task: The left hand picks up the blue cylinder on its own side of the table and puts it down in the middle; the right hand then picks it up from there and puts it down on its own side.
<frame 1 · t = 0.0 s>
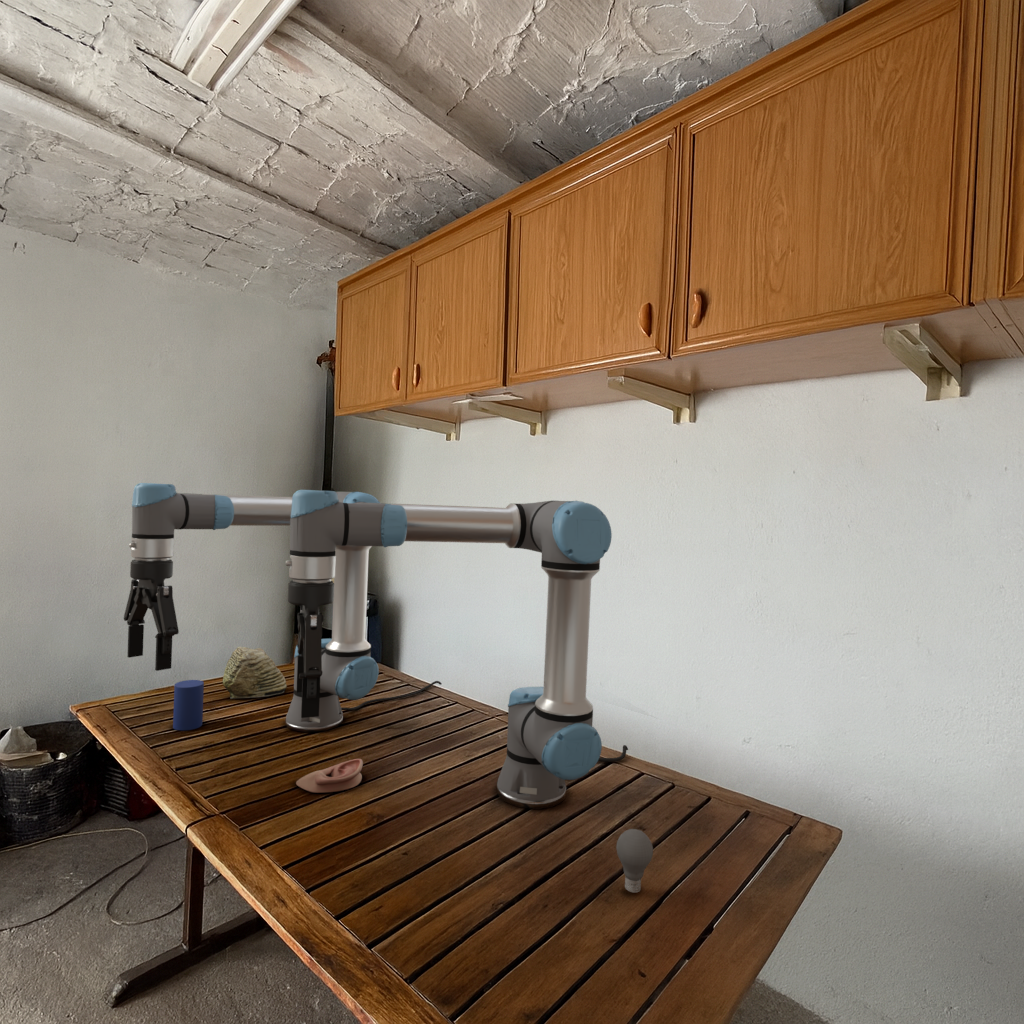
left hand: (148, 662, 129), 28 cm above the table, tool pointing down, fingers open, 13 cm apart
right hand: (307, 703, 109), 28 cm above the table, tool pointing down, fingers open, 13 cm apart
anatomical model: (329, 782, 140), on the table
blue cylinder: (187, 725, 170), on the table
light bulb: (632, 891, 106), on the table
fossil: (254, 694, 198), on the table
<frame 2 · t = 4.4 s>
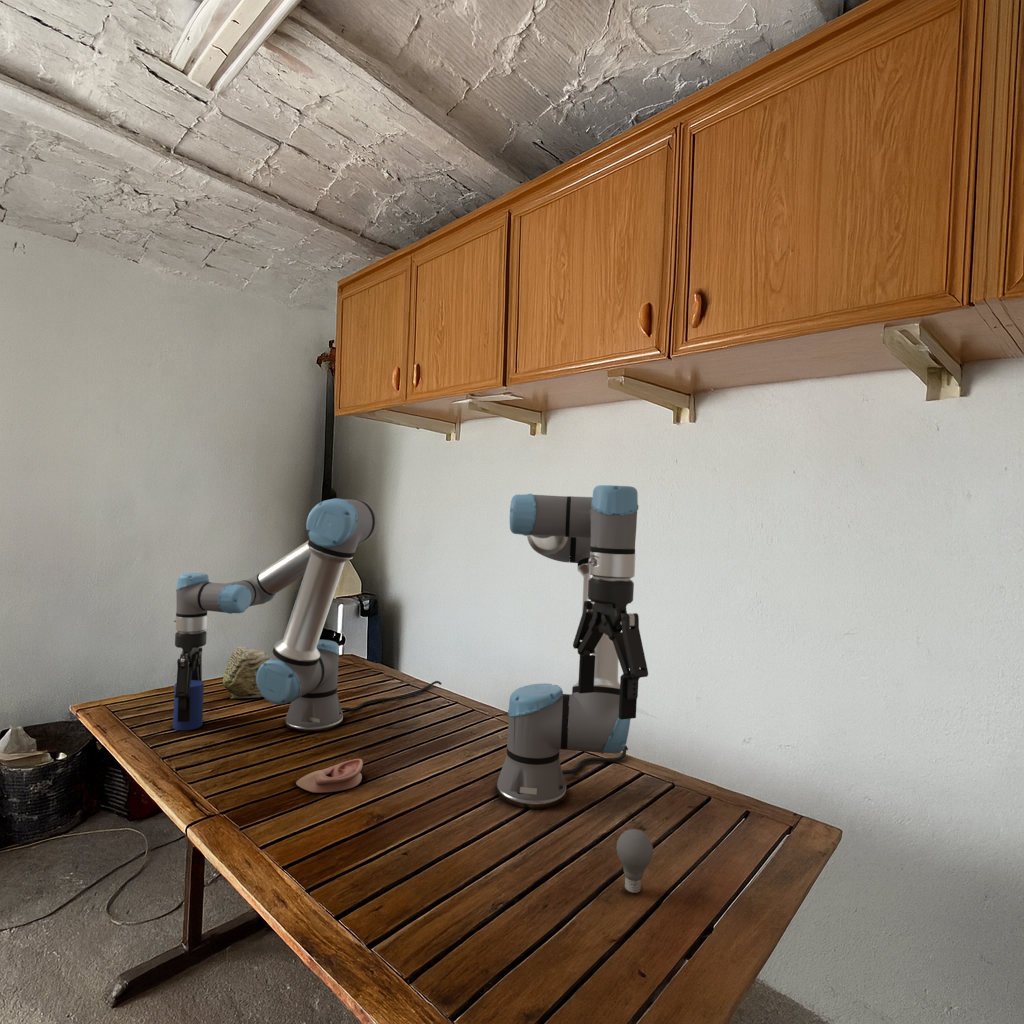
left hand: (188, 715, 170), 3 cm above the table, tool pointing down, fingers closed on blue cylinder, 7 cm apart
right hand: (605, 704, 106), 31 cm above the table, tool pointing down, fingers open, 13 cm apart
blue cylinder: (187, 725, 170), on the table, touching left hand
everything else where it was.
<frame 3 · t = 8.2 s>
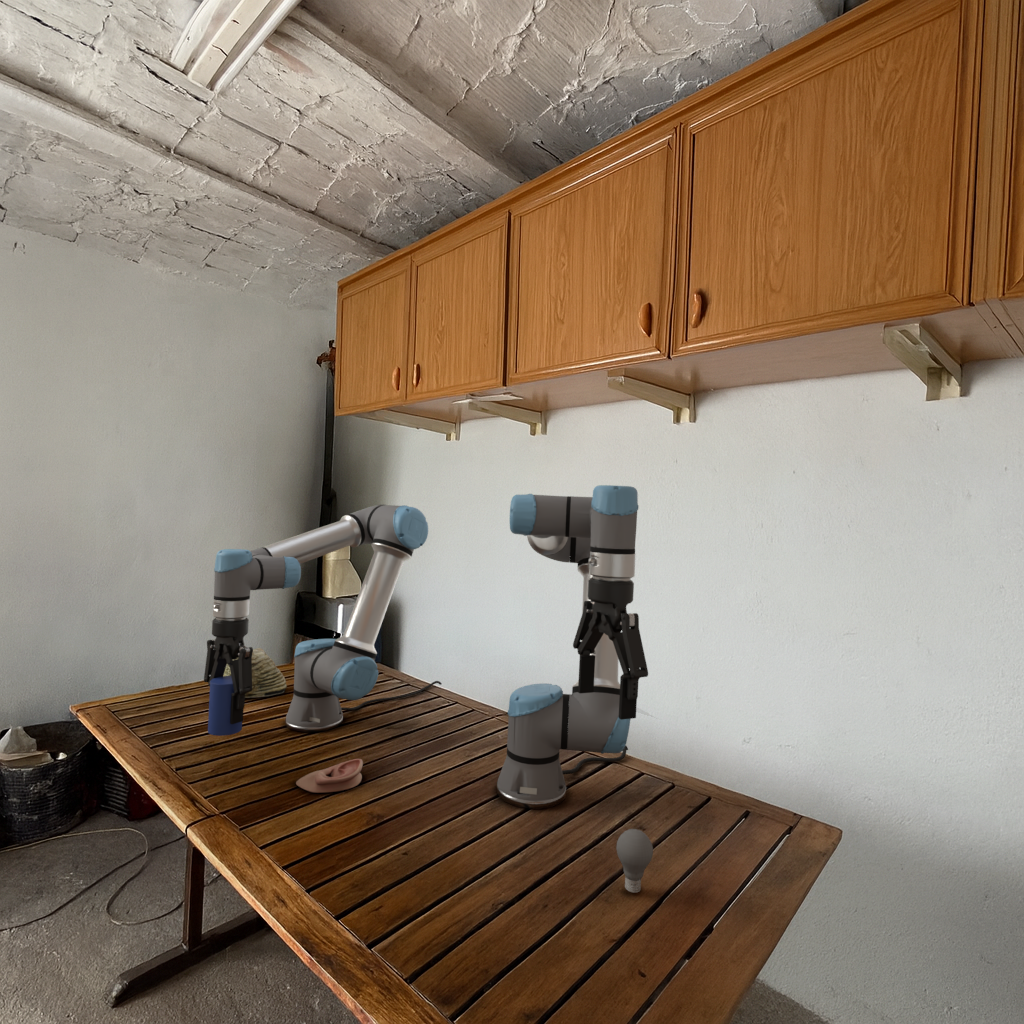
left hand: (225, 718, 144), 12 cm above the table, tool pointing down, fingers closed on blue cylinder, 7 cm apart
right hand: (605, 704, 106), 31 cm above the table, tool pointing down, fingers open, 13 cm apart
blue cylinder: (225, 730, 143), point 9 cm above the table, touching left hand
everything else where it was.
when the left hand's fingers open (5 cm above the table, at t = 12.1 s): blue cylinder drops 2 cm, on the table.
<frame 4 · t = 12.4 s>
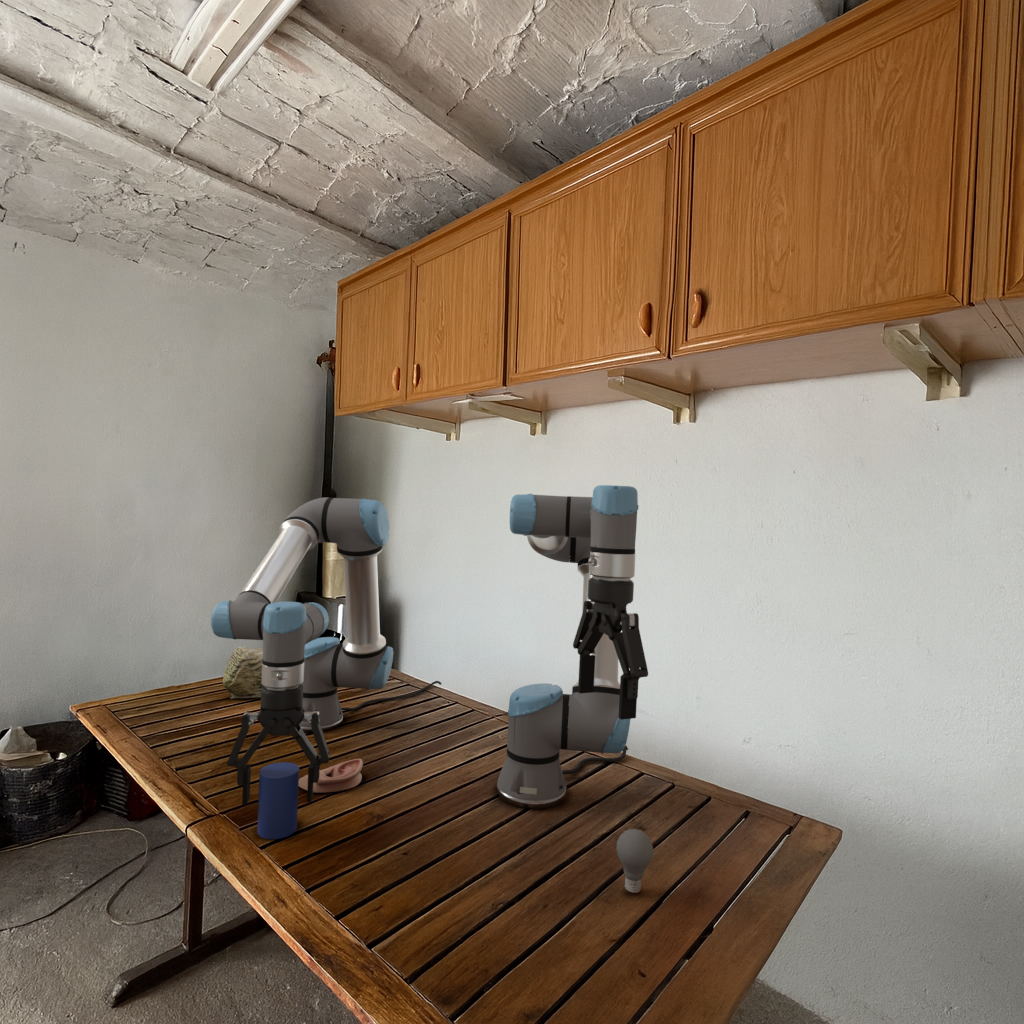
left hand: (278, 800, 120), 6 cm above the table, tool pointing down, fingers open, 11 cm apart
right hand: (605, 704, 106), 31 cm above the table, tool pointing down, fingers open, 13 cm apart
blue cylinder: (277, 829, 120), on the table
everything else where it was.
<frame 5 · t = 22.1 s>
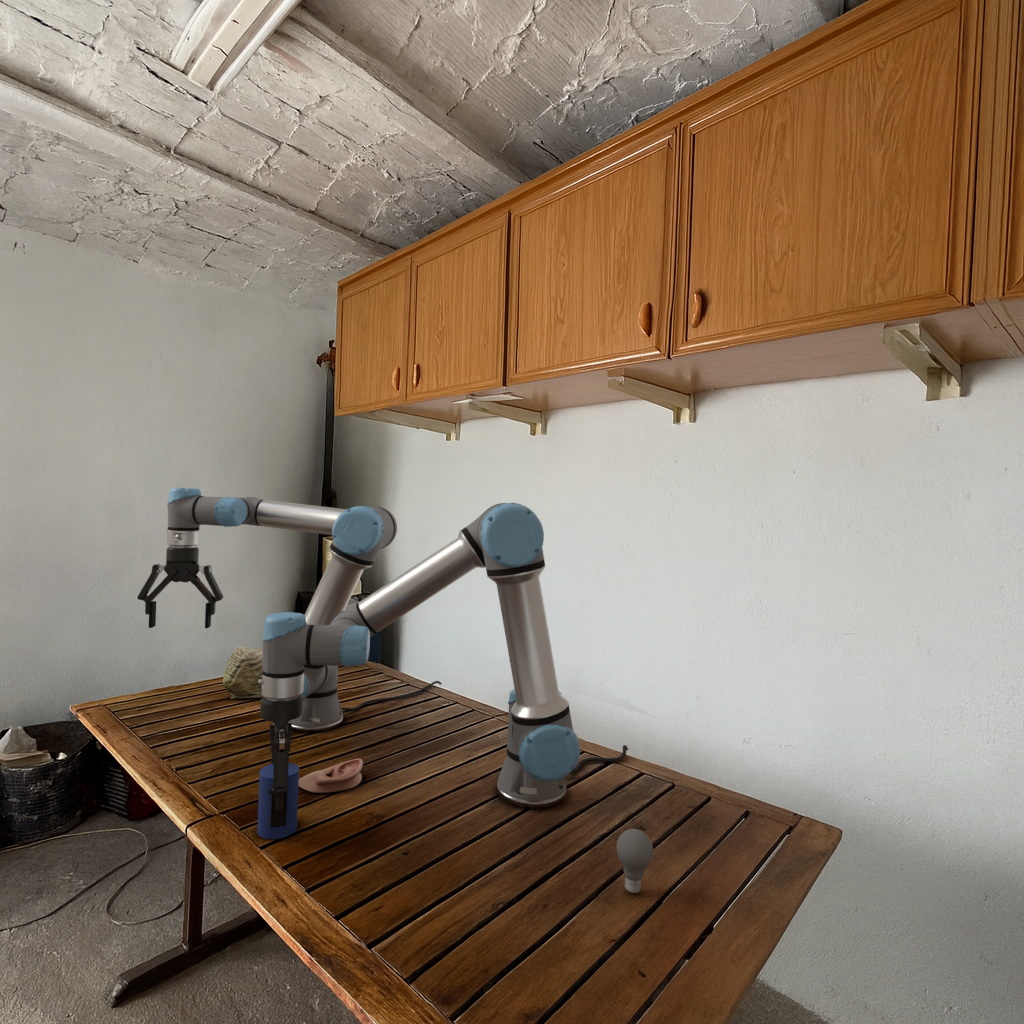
left hand: (180, 627, 167), 27 cm above the table, tool pointing down, fingers open, 13 cm apart
right hand: (277, 815, 120), 3 cm above the table, tool pointing down, fingers closed on blue cylinder, 7 cm apart
blue cylinder: (277, 829, 120), on the table, touching right hand
everything else where it was.
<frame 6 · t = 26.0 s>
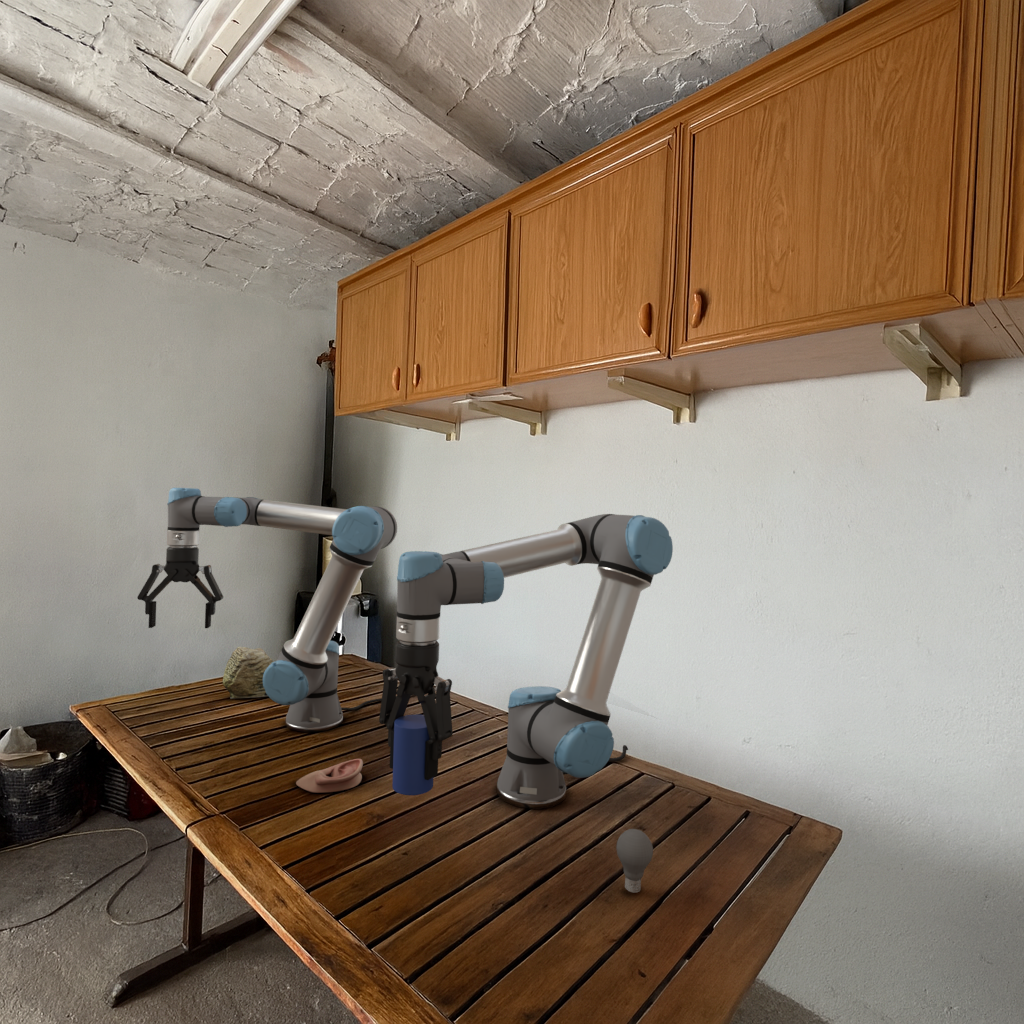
left hand: (180, 627, 167), 27 cm above the table, tool pointing down, fingers open, 13 cm apart
right hand: (413, 771, 111), 16 cm above the table, tool pointing down, fingers closed on blue cylinder, 7 cm apart
blue cylinder: (412, 786, 111), point 14 cm above the table, touching right hand
everything else where it was.
when the right hand's fingers open (5 cm above the table, at t = 30.0 s): blue cylinder drops 2 cm, on the table.
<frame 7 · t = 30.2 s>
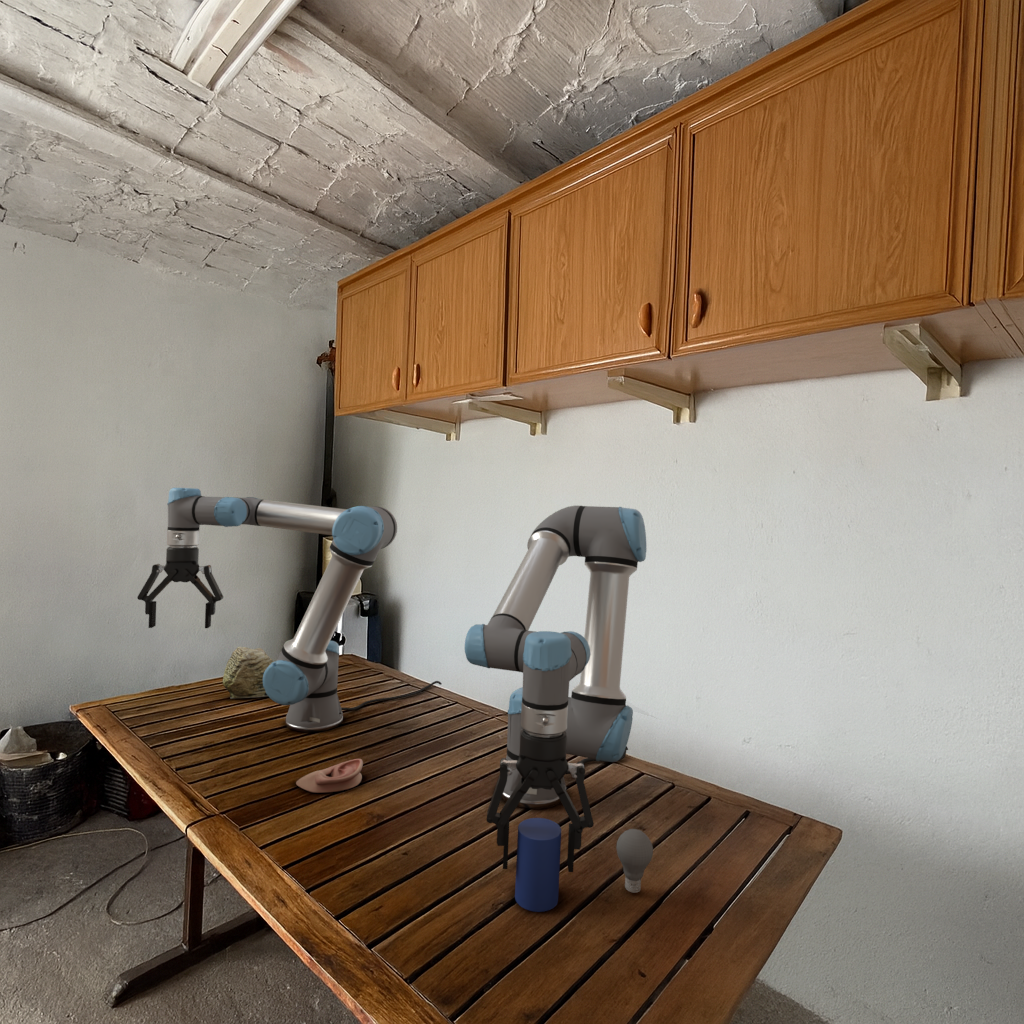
left hand: (180, 627, 167), 27 cm above the table, tool pointing down, fingers open, 13 cm apart
right hand: (537, 865, 103), 5 cm above the table, tool pointing down, fingers open, 10 cm apart
blue cylinder: (536, 898, 103), on the table
everything else where it was.
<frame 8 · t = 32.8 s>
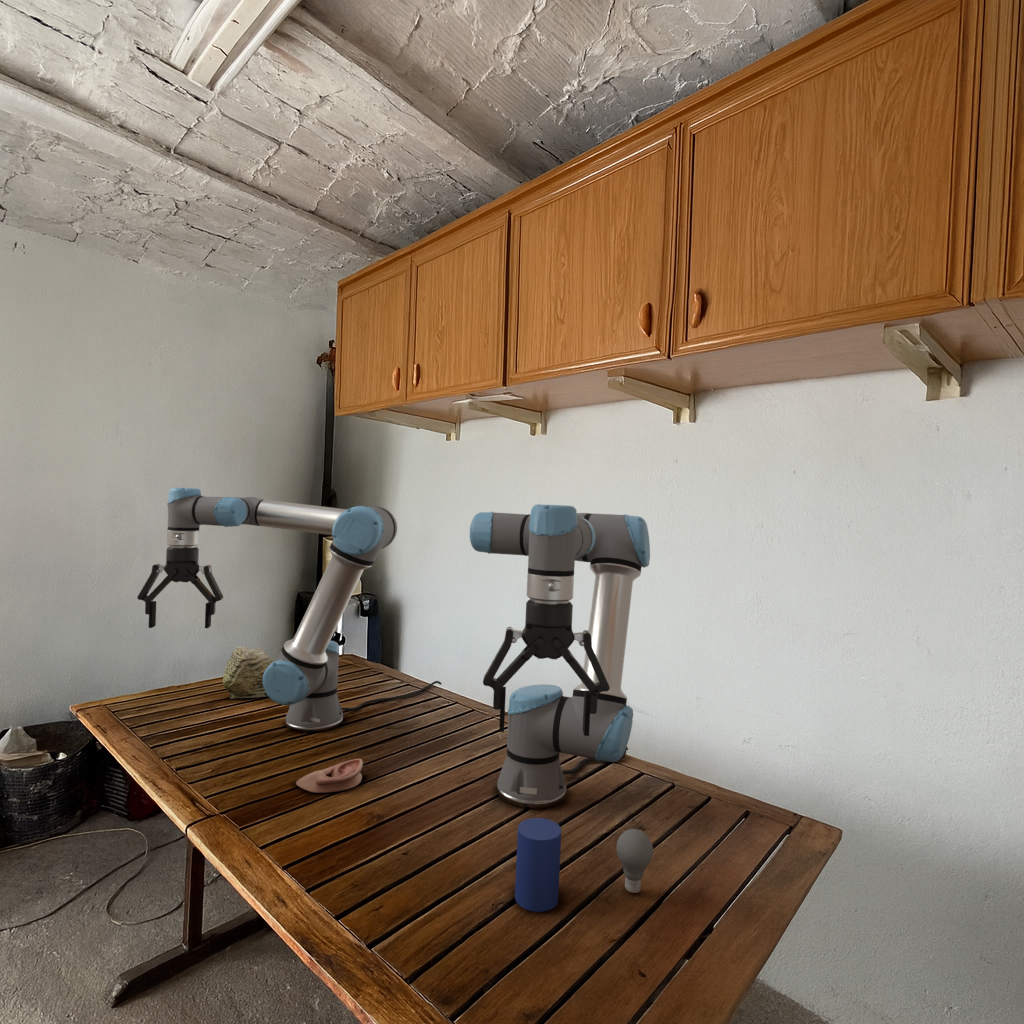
left hand: (180, 627, 167), 27 cm above the table, tool pointing down, fingers open, 13 cm apart
right hand: (543, 731, 102), 27 cm above the table, tool pointing down, fingers open, 13 cm apart
nothing on the table moved.
at the end: blue cylinder inside the target area (0.0 cm from its centre), on the table; blue cylinder tilted 0°; the two hands never held the blue cylinder at the same time; the left hand is holding nothing; the right hand is holding nothing; blue cylinder at rest at the end (0.0 cm/s) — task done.
